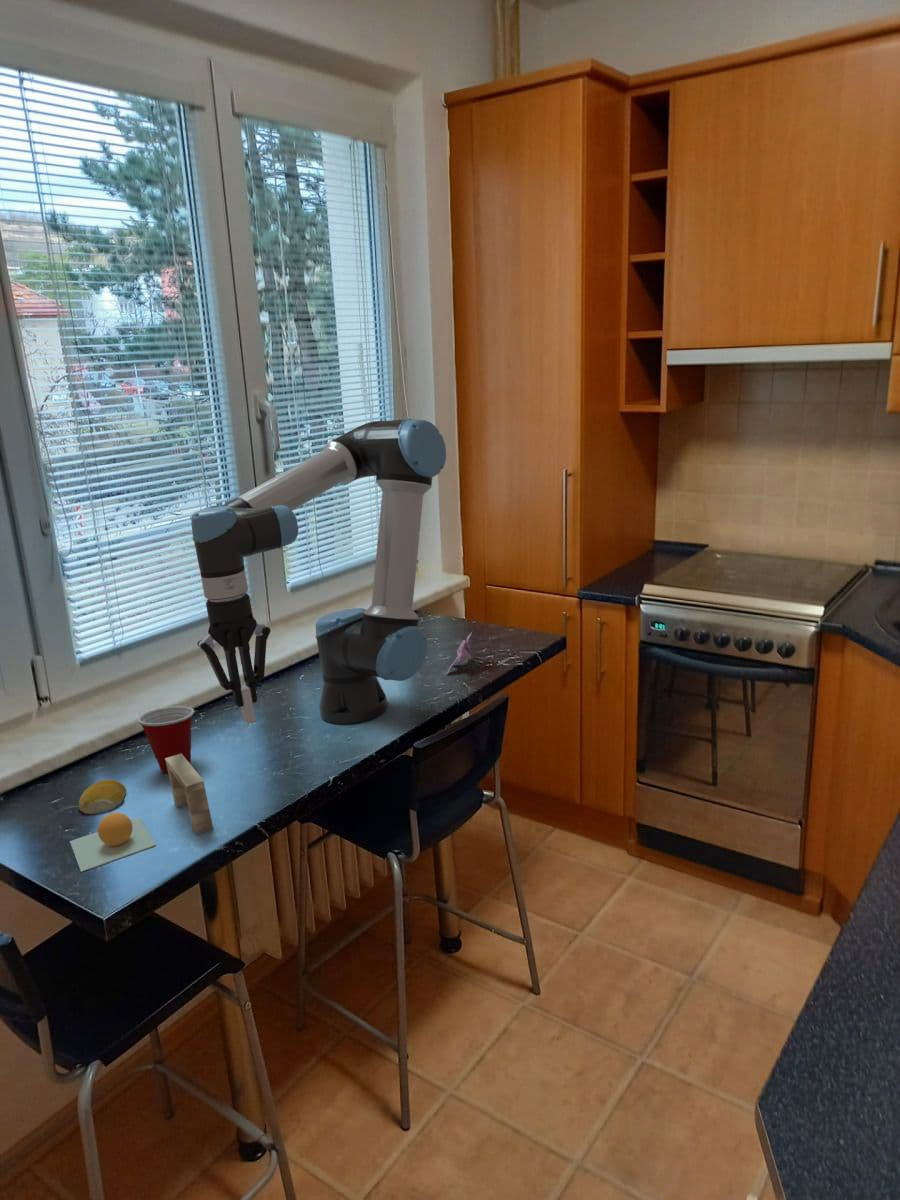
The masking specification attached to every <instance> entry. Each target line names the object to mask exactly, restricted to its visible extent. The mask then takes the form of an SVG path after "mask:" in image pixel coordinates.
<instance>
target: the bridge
mask: <svg viewBox="0 0 900 1200" xmlns="http://www.w3.org/2000/svg"><path fill="white" fill-rule="evenodd" d="M165 760H166V765H167V770H168V774H167V775H168V777H169V778H168V779H169V783H170V788H171V793H172V797H173V801H174V805H175V807H178V808H180V807H183V806H186V805H187V808H188V812H189V818H190V823H191V827H192V828H191V829H192V832H193V833H194V834H195V835H196V836H197V835H200V834H203V833H206V832H209V831H211V830H213V829H214V826H213V822H212V821H213V820H212V816H211V810H210V807H209V801H208V796H207V791H206V785H205V780H204V779H203V778H202V777H201V776H200V774H199V773H198V772H197V771H196V770H195V768H194V767H193V766H192V764H191V765H190V763H189V762H188V761H187V760H186V758H185V757H184V756H183V755H182V753H181V754H178V755H175V756H171V757H168V758H165ZM208 830H209V831H208Z"/></svg>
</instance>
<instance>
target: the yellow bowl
mask: <svg viewBox="0 0 900 1200" xmlns="http://www.w3.org/2000/svg"><path fill="white" fill-rule="evenodd" d="M126 793H127V789H126V787H125V785H124V784H123V783H121V782H120V781H118V780H114V779H103V780H102V779H101V780H99V781H96V782H94V783H93V784H91V785H89V787H88V788H86V789H85V790H84V791H83V792H82V793H81V795H80V798H79V801H78V809H79V810H80V812H81V813H83V814H87V815H95V814H101V813H104V812H105V813H106V812H109V811H111V810H114V809H115V808H117V807H118V806H120V805H121V804H123V801H124V799H125V796H126Z"/></svg>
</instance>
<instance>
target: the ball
mask: <svg viewBox="0 0 900 1200" xmlns="http://www.w3.org/2000/svg"><path fill="white" fill-rule="evenodd" d="M131 820H132V819H130V817H129V816H128V815H126V814H125V813H121V812H112V813H109V814H107V815H106V816H104V817H103V818H102V819H101V820H100V822H99V824H98V828H97V832H98V835H99V838H100V839H101V841H102V842H103V843H105V844H107V845H109V846H118V845H121V844H123V843H125V842H126V841H127V840H128V839H129V837H130V836H131V833H132V822H131Z"/></svg>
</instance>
